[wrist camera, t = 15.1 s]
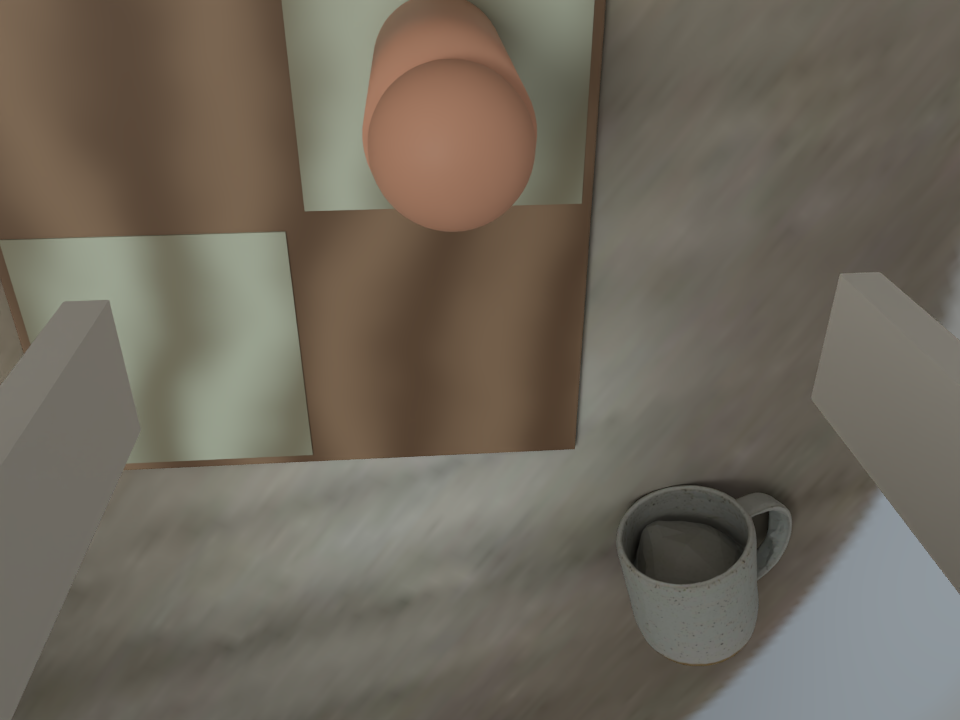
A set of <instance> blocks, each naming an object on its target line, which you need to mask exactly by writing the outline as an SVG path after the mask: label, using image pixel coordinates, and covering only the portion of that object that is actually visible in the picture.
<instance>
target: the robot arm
mask: <svg viewBox="0 0 960 720" xmlns="http://www.w3.org/2000/svg"><path fill="white" fill-rule="evenodd" d="M811 400H812V401H813V402H814V404H815V405H816V406H817V408H818V409H819V410H820V412H821V413H822V414H823V416H824V417H825V418H826V419H827V421H828V422H829V423H830V425H831V426H832V427H833V429H834V430H835V431H836V433H837V434H838V435H839V437H840V438H841V439H842V440H843V442H844V443H845V444H846V446H847V447H848V448H849V450H850V451H851V452H852V454H853V455H854V456H855V458H856V459H857V460H858V461H859V463H860V464H861V465H862V467H863V468H864V469H865V471H866V472H867V473H868V475H869V476H870V477H871V479H872V480H873V481H874V482H875V484H876V485H877V486H878V488H879V489H880V490H881V492H882V493H883V494H884V496H885V497H886V498H887V499H888V501H889V502H890V503H891V505H892V506H893V507H894V509H895V510H896V511H897V513H898V514H899V515H900V516H901V518H902V519H903V520H904V522H905V523H906V524H907V526H908V527H909V528H910V530H911V531H912V532H913V534H914V535H915V536H916V537H917V539H918V540H919V541H920V543H921V544H922V545H923V546H924V548H925V549H926V551H927V552H928V553H929V555H930V556H931V557H932V559H933V560H934V561H935V562H936V564H937V565H938V566H939V568H940V569H941V570H942V572H943V573H944V574H945V576H946V577H947V578H948V580H949V581H950V582H951V583H952V585H953V586H954V587H955V588H956V590H957V591H958V593H959V594H960V340H958V339H957V338H956V337H955V336H954V335H953V334H951V333H950V332H949V331H948V330H947V329H946V328H944V327H943V326H942V325H941V324H940V323H939V322H937V321H936V320H935V319H934V318H933V317H932V316H930V315H929V314H928V313H927V312H926V311H925V310H924V309H922V308H921V307H920V306H919V305H918V304H917V303H915V302H914V301H913V300H912V299H911V298H910V297H908V296H907V295H906V294H905V293H904V292H903V291H901V290H900V289H899V288H898V287H897V286H896V285H894V284H893V283H892V282H891V281H890V280H889V279H887V278H886V277H885V276H884V275H883V274H882V273H881V272H866V273H840V275H839V280H838V284H837V288H836V293H835V297H834V301H833V306H832V310H831V314H830V318H829V323H828V327H827V331H826V336H825V340H824V344H823V349H822V353H821V357H820V361H819V366H818V370H817V374H816V379H815V383H814V387H813V392H812V396H811ZM140 431H141V428H140V424H139V420H138V416H137V412H136V408H135V404H134V400H133V396H132V391H131V387H130V383H129V379H128V375H127V371H126V367H125V363H124V359H123V355H122V351H121V346H120V342H119V338H118V334H117V330H116V326H115V322H114V318H113V314H112V310H111V306H110V301H109V300H90V301H64V302H63V303H62V304H61V306H60V307H59V308H58V310H57V311H56V312H55V314H54V315H53V316H52V318H51V319H50V320H49V322H48V323H47V324H46V326H45V327H44V328H43V330H42V331H41V332H40V334H39V335H38V336H37V338H36V339H35V340H34V342H33V343H32V344H31V346H30V347H29V348H28V349H27V351H26V352H25V353H24V355H23V356H22V357H21V359H20V360H19V361H18V363H17V364H16V365H15V367H14V368H13V369H12V371H11V372H10V373H9V375H8V376H7V377H6V379H5V380H4V381H3V383H2V384H1V385H0V720H11V719H12V717H13V715H14V712H15V710H16V708H17V706H18V704H19V701H20V699H21V697H22V695H23V692H24V690H25V688H26V686H27V683H28V681H29V679H30V677H31V675H32V672H33V670H34V668H35V666H36V663H37V661H38V659H39V657H40V654H41V652H42V650H43V648H44V645H45V643H46V641H47V639H48V637H49V634H50V632H51V630H52V628H53V625H54V623H55V621H56V619H57V616H58V614H59V612H60V610H61V608H62V605H63V603H64V601H65V599H66V596H67V594H68V592H69V590H70V587H71V585H72V583H73V581H74V579H75V576H76V574H77V572H78V570H79V567H80V565H81V563H82V561H83V558H84V556H85V554H86V552H87V550H88V547H89V545H90V543H91V541H92V538H93V536H94V534H95V532H96V529H97V527H98V525H99V523H100V521H101V518H102V516H103V514H104V512H105V509H106V507H107V505H108V503H109V500H110V498H111V496H112V494H113V491H114V489H115V487H116V485H117V483H118V480H119V478H120V476H121V474H122V471H123V469H124V467H125V465H126V462H127V460H128V458H129V456H130V454H131V451H132V449H133V447H134V445H135V442H136V440H137V438H138V436H139V433H140Z"/></svg>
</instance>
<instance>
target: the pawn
mask: <svg viewBox="0 0 960 720" xmlns="http://www.w3.org/2000/svg"><path fill="white" fill-rule="evenodd" d="M362 140H363V148H364V153H365V157H366V160H367V163H368V166H369V168H370V170H371V173H372V174H373V177H374V179H375V181H376V184H377V185H378V187H379V189H380V190H381V192H382V194H383V196H384V197H385V198H386V199H387V201H388V202H389V203H390V204H391V205H392V206H393V207H394V208H395V209H396V210H397V211H398V212H399V213H401V214H402V215H403V216H404V217H406V218H408V219H409V220H411V221H413V222H414V223H416V224H419V225H421V226H423V227H426V228H429V229H433V230H438V231H444V232H459V231H467V230H471V229H475V228H478V227H481V226H484V225H486V224H488V223H490V222H492V221H494V220H495V219H497V218H498V217H500V216H501V215H502V214H504V213H505V212H506V211H507V210H508V209H509V208H510V207H511V206H512V205H513V204H514V203H515V202H516V201H517V199H518V198H519V197H520V195H521V194H522V192H523V191H524V189H525V187H526V185H527V183H528V181H529V178H530V176H531V173H532V169H533V165H534V160H535V151H536V142H537V123H536V117H535V112H534V109H533V105H532V102H531V100H530V98H529V96H528V93H527V91H526V89H525V87H524V85H523V83H522V81H521V79H520V77H519V75H518V73H517V71H516V69H515V67H514V65H513V63H512V61H511V59H510V57H509V55H508V53H507V51H506V49H505V47H504V45H503V43H502V41H501V39H500V37H499V35H498V33H497V31H496V29H495V27H494V26H493V24H492V23H491V21H490V20H489V18H488V17H487V16H486V15H485V14H484V13H483V12H482V11H481V10H480V9H479V8H478V7H476V6H475V5H473V4H472V3H471V2H469V1H467V0H409V1H407V2H405V3H403V4H402V5H401V6H399V7H398V8H397V9H396V10H395V11H394V12H393V13H392V14H391V15H390V16H389V17H388V18H387V20H386V21H385V22H384V24H383V26H382V27H381V29H380V31H379V34H378V36H377V39H376V43H375V47H374V53H373V60H372V66H371V73H370V79H369V86H368V93H367V99H366V106H365V113H364V120H363V127H362Z"/></svg>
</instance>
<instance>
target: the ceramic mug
mask: <svg viewBox="0 0 960 720" xmlns="http://www.w3.org/2000/svg"><path fill="white" fill-rule="evenodd" d="M767 511H769V527H768V531H767V535H766V537H765V539H764V541H763V542H762V544H761V545H760V546H759V548H758V549H757V540H756V532H755V527H754V524H753V521H752V517H753V516H755V515H758V514H761V513H764V512H767ZM791 530H792V517H791V513H790V511H789V510H788V509H787V508H786V507H785V506H784V505H783V504H782V503H780V502H779V501H777V500H776V499H774V498H773V497H772V496H770V495H767V494H764V493H758V492H756V493H751V494H748V495H745V496H742V497H740V498H737V499H734V498H733V497H731V496H729V495H728V494H726V493H724V492H721V491H719V490H716V489H714V488H709V487H704V486H697V485H681V486H674V487H667V488H664V489H661V490H657V491H655V492H651V493H649V494H648V495H646V496H644V497H642V498H641V499H639V500H638V501H637V502H635V503H634V504H633V505H632V506H631V507H630V508H629V509H628V510H627V511H626V513H625V514H624V516H623V517H622V519H621V521H620V523H619V526H618V530H617V535H616V546H617V552H618V556H619V559H620V563H621V567H622V571H623V575H624V579H625V582H626V586H627V590H628V593H629V597H630V601H631V605H632V609H633V613H634V617H635V620H636V622H637V625H638V627H639V629H640V630H641V632H642V634H643V636H644V637H645V639H646V641H647V642H648V643H649V644H650V646H651V647H653V648H654V649H655V650H656V651H657V652H658V653H660V654H661V655H663V656H664V657H666V658H667V659H669V660H671V661H674V662H676V663H680V664H683V665H689V666H707V665H713V664H717V663H720V662H723V661H725V660H727V659H729V658H731V657H733V656H735V655H736V654H737V653H738V652H739V651H740V650H741V649H742V648H743V647H744V646H745V645H746V644H747V642H748V641H749V639H750V637H751V635H752V633H753V631H754V628H755V624H756V620H757V614H758V589H757V580H759V579H760V578H761V577H762V576H764V575H765V574H766V573H768V572H769V570H770V569H771V568H772V567H773V566H774V565H775V564H777V562H778V561H779V559H780V558H781V556H782V554H783V553H784V551H785V549H786V547H787V545H788V542H789V539H790V535H791Z"/></svg>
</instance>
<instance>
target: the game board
mask: <svg viewBox="0 0 960 720" xmlns="http://www.w3.org/2000/svg"><path fill="white" fill-rule="evenodd" d="M407 1H409V0H0V279H1V282H2V285H3V288H4V291H5V295H6V298H7V301H8V304H9V307H10V311H11V314H12V317H13V320H14V323H15V327H16V330H17V333H18V336H19V339H20V343H21V346H22V349H23V352H24V353H25V352H26V351H27V349H28V348H29V347H30V346H31V344H32V343H33V342H34V340H35V339H36V338H37V336H38V335H39V334H40V332H41V331H42V330H43V328H44V327H45V326H46V324H47V323H48V322H49V320H50V319H51V318H52V316H53V315H54V314H55V312H56V311H57V310H58V308H59V307H60V306H61V304H62V303H63V302H64V301H90V300H109V301H110V306H111V310H112V314H113V318H114V322H115V326H116V330H117V334H118V338H119V342H120V346H121V351H122V355H123V359H124V363H125V367H126V371H127V375H128V379H129V383H130V387H131V391H132V396H133V400H134V404H135V408H136V412H137V416H138V420H139V424H140V428H141V431H140V433H139V436H138V438H137V440H136V442H135V445H134V447H133V449H132V451H131V454H130V456H129V458H128V460H127V462H126V465H125V467H124V469H123V470H136V469H157V468H179V467H200V466H221V465H243V464H264V463H286V462H307V461H328V460H350V459H371V458H392V457H414V456H435V455H457V454H478V453H499V452H521V451H542V450H563V449H575V436H576V422H577V407H578V393H579V379H580V364H581V350H582V335H583V321H584V307H585V292H586V278H587V264H588V249H589V235H590V220H591V206H592V192H593V177H594V163H595V148H596V134H597V120H598V105H599V91H600V76H601V62H602V48H603V33H604V19H605V5H606V0H467V1H469V2H471V3H472V4H473V5H475V6H476V7H478V8H479V9H480V10H481V11H482V12H483V13H484V14H485V15H486V16H487V17H488V18H489V20H490V21H491V23H492V24H493V26H494V27H495V29H496V31H497V33H498V35H499V37H500V39H501V41H502V43H503V45H504V47H505V49H506V51H507V53H508V55H509V57H510V59H511V61H512V63H513V65H514V67H515V69H516V71H517V73H518V75H519V77H520V79H521V81H522V83H523V85H524V87H525V89H526V91H527V93H528V96H529V98H530V100H531V102H532V105H533V109H534V112H535V117H536V123H537V142H536V151H535V160H534V165H533V169H532V173H531V176H530V178H529V181H528V183H527V185H526V187H525V189H524V191H523V192H522V194H521V195H520V197H519V198H518V199H517V201H516V202H515V203H514V204H513V205H512V206H511V207H510V208H509V209H508V210H507V211H506V212H505V213H504V214H502V215H501V216H500V217H498V218H497V219H495V220H494V221H492V222H490V223H488V224H486V225H484V226H481V227H478V228H475V229H471V230H467V231H459V232H444V231H438V230H433V229H429V228H426V227H423V226H421V225H419V224H416V223H414V222H413V221H411V220H409V219H408V218H406V217H404V216H403V215H402V214H401V213H399V212H398V211H397V210H396V209H395V208H394V207H393V206H392V205H391V204H390V203H389V202H388V201H387V199H386V198H385V197H384V196H383V194H382V192H381V190H380V189H379V187H378V185H377V184H376V181H375V179H374V177H373V174H372V173H371V170H370V168H369V166H368V163H367V160H366V157H365V153H364V148H363V140H362V127H363V120H364V113H365V106H366V99H367V93H368V86H369V79H370V73H371V66H372V60H373V53H374V47H375V43H376V39H377V36H378V34H379V31H380V29H381V27H382V26H383V24H384V22H385V21H386V20H387V18H388V17H389V16H390V15H391V14H392V13H393V12H394V11H395V10H396V9H397V8H398V7H399V6H401V5H402V4H403V3H405V2H407Z"/></svg>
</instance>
